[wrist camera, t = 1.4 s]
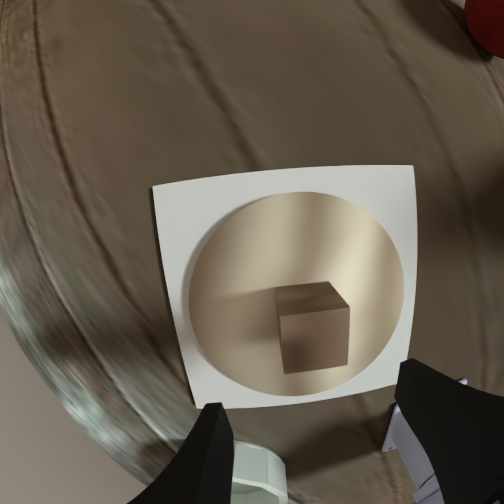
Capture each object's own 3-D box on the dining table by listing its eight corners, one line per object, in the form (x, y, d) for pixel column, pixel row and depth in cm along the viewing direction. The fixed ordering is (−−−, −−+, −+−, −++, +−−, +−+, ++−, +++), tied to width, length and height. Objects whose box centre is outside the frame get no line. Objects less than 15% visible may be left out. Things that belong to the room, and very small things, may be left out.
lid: (397, 186, 17) (442, 185, 12) (389, 372, 20) (415, 410, 14) (176, 205, 17) (144, 208, 12) (210, 395, 20) (200, 442, 15)
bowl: (282, 434, 22) (286, 474, 17) (286, 489, 24) (288, 519, 19) (160, 434, 22) (147, 469, 17) (190, 488, 24) (183, 517, 20)
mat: (409, 166, 17) (413, 165, 16) (399, 379, 20) (401, 382, 20) (155, 186, 18) (152, 186, 17) (197, 404, 21) (197, 408, 20)
